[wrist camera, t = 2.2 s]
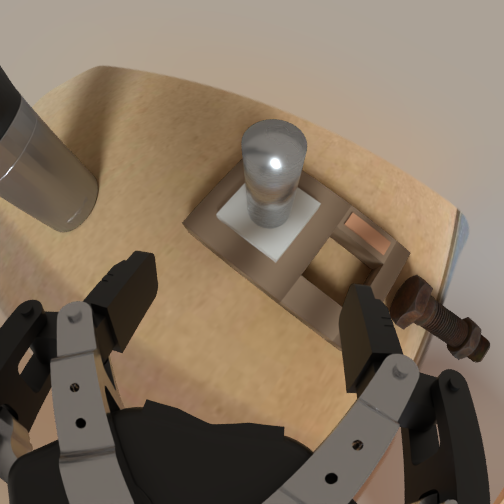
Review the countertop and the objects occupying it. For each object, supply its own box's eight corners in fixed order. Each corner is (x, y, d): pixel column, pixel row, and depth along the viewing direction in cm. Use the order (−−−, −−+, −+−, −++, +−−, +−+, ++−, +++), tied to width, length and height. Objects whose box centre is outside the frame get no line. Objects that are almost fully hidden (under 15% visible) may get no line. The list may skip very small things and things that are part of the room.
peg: (238, 211, 26) (227, 147, 16) (265, 182, 26) (268, 110, 17) (273, 237, 25) (281, 182, 15) (299, 205, 26) (319, 140, 16)
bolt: (462, 355, 26) (385, 306, 28) (484, 325, 25) (410, 268, 27) (477, 380, 21) (396, 329, 23) (504, 346, 19) (427, 285, 21)
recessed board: (189, 232, 29) (179, 219, 25) (258, 157, 32) (258, 137, 28) (339, 350, 26) (352, 354, 22) (398, 259, 28) (415, 250, 24)
